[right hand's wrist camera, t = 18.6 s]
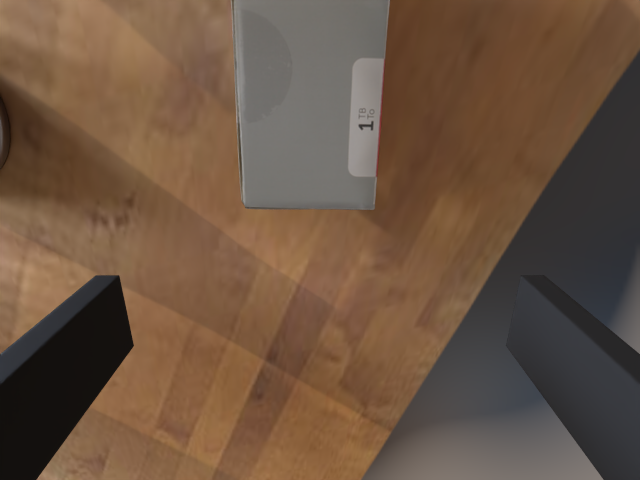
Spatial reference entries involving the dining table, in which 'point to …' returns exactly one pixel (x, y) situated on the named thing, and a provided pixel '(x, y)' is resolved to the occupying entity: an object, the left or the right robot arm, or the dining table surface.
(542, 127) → the dining table surface
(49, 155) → the dining table surface
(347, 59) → the hard drive box
